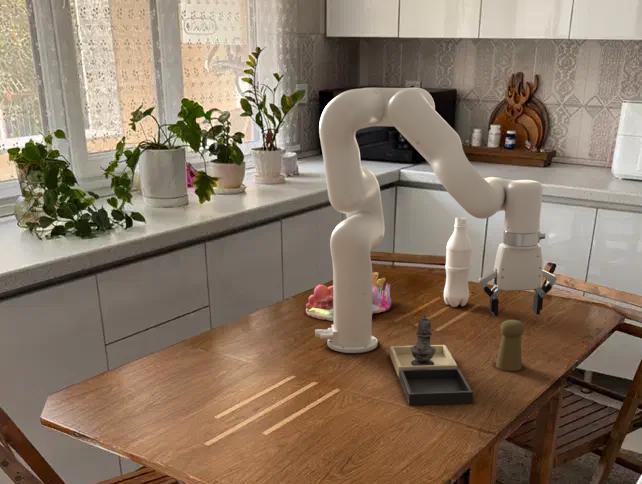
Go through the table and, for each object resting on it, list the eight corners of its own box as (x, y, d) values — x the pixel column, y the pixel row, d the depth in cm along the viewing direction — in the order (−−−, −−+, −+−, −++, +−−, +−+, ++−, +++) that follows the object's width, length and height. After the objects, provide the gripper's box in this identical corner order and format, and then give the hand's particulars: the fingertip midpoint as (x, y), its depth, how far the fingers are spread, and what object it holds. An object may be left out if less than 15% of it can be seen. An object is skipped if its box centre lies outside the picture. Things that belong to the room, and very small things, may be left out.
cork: (524, 363, 184) (528, 319, 180) (518, 372, 179) (523, 327, 174) (498, 359, 186) (502, 315, 182) (492, 368, 181) (496, 323, 177)
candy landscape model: (315, 293, 237) (315, 264, 233) (393, 296, 234) (394, 266, 230) (301, 320, 214) (300, 287, 210) (387, 323, 211) (388, 290, 207)
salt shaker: (434, 369, 180) (436, 319, 175) (408, 367, 181) (410, 317, 176) (436, 359, 185) (438, 311, 180) (411, 358, 186) (413, 309, 181)
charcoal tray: (408, 405, 163) (409, 394, 162) (399, 380, 175) (399, 369, 174) (472, 403, 164) (473, 392, 163) (458, 378, 176) (458, 368, 175)
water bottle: (469, 308, 223) (475, 220, 213) (444, 308, 223) (449, 220, 213) (466, 300, 230) (471, 215, 220) (441, 300, 230) (446, 215, 220)
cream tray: (398, 377, 177) (398, 367, 176) (389, 356, 189) (390, 346, 188) (456, 375, 177) (457, 365, 176) (444, 354, 190) (445, 344, 189)
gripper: (554, 233, 175) (547, 307, 181) (477, 236, 174) (473, 310, 180) (565, 241, 168) (558, 317, 174) (486, 244, 167) (481, 320, 173)
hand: (515, 313), depth 177 cm, fingers open, 9 cm apart
